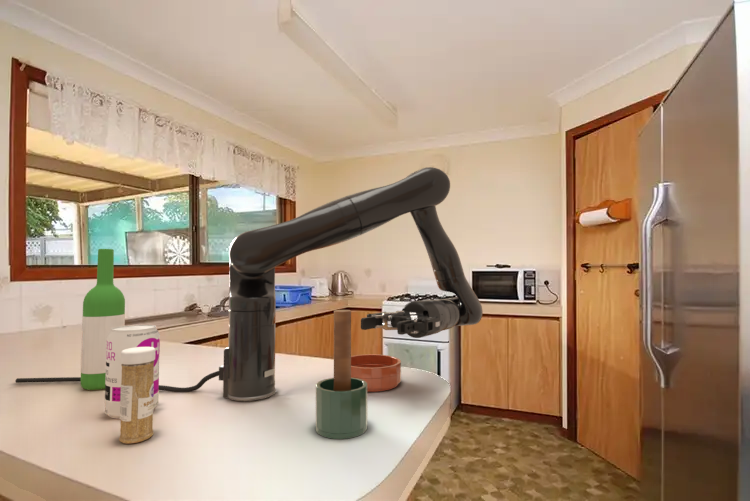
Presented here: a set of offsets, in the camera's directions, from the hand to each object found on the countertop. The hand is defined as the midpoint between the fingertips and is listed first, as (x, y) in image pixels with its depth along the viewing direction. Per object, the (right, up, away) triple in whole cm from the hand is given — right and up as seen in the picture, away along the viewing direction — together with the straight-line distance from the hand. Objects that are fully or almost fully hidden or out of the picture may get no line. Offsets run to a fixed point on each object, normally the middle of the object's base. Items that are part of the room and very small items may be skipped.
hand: (380, 326), depth 72 cm
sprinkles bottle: (-37, -15, -12) cm, 42 cm away
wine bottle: (-61, -16, +14) cm, 64 cm away
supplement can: (-45, -15, -1) cm, 47 cm away
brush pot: (-6, -15, -9) cm, 18 cm away
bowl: (-2, -16, +16) cm, 22 cm away
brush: (-6, -14, -9) cm, 18 cm away
